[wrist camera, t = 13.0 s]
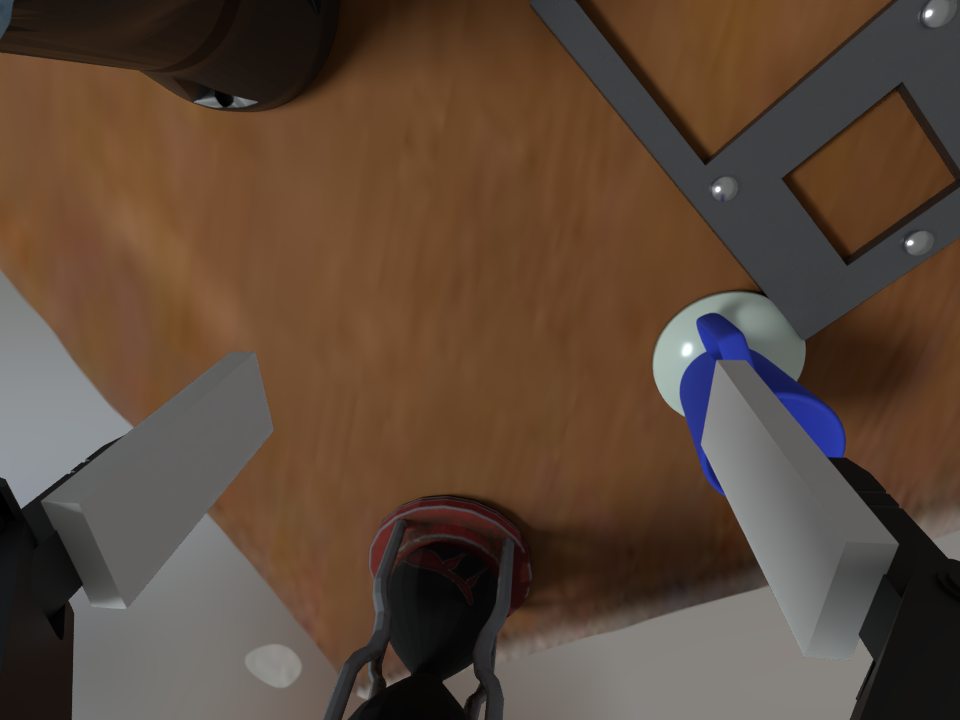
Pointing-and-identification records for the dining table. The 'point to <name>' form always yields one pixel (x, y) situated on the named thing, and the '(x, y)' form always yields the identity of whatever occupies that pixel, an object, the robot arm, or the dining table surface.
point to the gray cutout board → (803, 153)
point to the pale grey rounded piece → (746, 313)
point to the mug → (732, 345)
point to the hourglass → (438, 609)
